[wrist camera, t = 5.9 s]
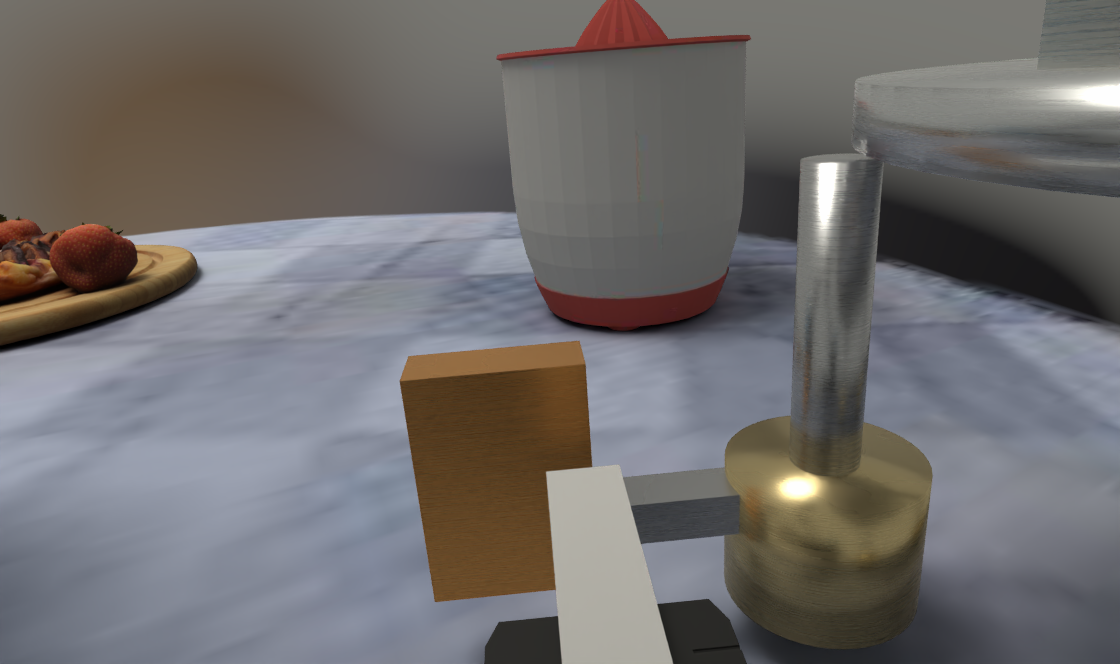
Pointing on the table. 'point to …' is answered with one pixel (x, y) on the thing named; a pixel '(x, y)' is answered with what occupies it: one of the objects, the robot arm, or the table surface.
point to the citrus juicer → (628, 167)
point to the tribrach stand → (1009, 110)
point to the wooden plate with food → (78, 276)
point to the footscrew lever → (711, 494)
